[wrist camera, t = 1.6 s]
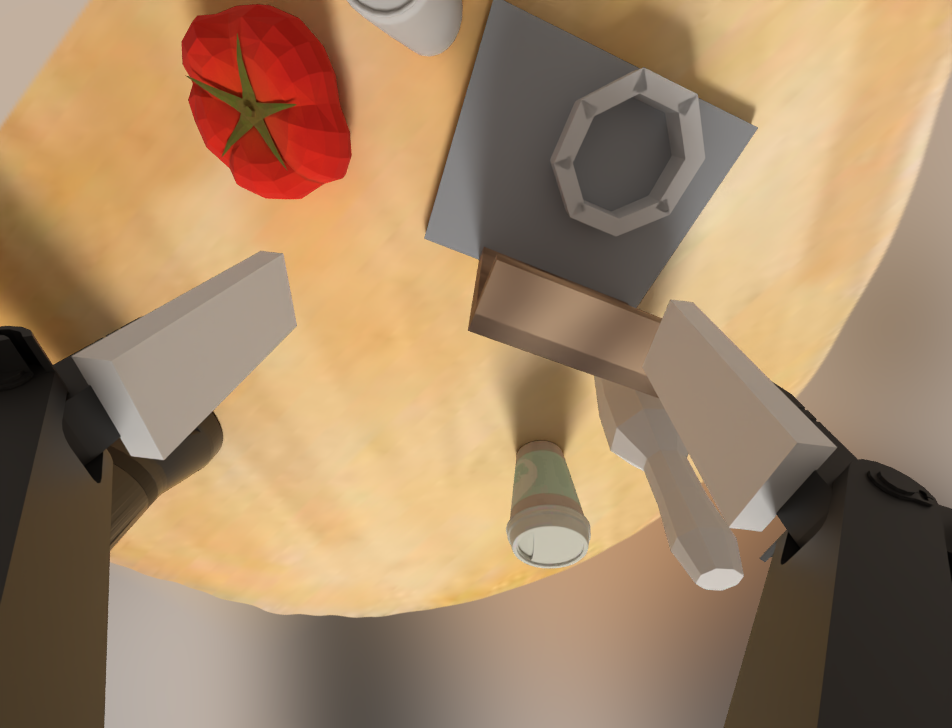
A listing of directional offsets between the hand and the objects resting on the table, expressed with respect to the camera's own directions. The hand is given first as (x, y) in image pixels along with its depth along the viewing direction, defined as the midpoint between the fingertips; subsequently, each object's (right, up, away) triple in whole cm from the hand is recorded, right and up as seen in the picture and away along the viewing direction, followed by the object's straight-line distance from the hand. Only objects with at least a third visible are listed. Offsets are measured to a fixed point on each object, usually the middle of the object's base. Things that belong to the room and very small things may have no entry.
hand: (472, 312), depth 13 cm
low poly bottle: (+15, -1, +26) cm, 30 cm away
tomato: (-14, +17, +16) cm, 27 cm away
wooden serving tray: (+8, +7, +20) cm, 23 cm away
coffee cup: (+8, -13, +34) cm, 38 cm away
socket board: (+8, +12, +17) cm, 22 cm away
